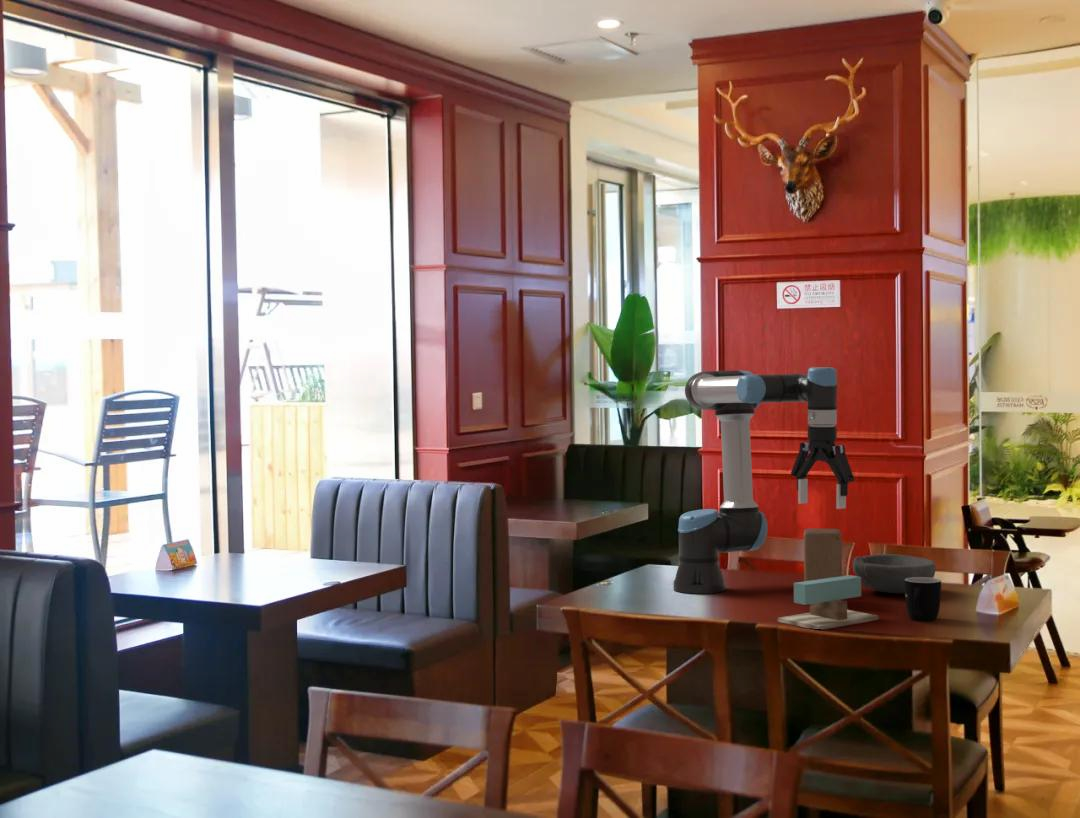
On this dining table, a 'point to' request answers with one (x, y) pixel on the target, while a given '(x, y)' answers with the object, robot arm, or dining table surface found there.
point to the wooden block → (822, 554)
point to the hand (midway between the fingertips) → (821, 505)
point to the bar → (827, 589)
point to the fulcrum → (828, 616)
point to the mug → (923, 598)
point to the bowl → (891, 571)
